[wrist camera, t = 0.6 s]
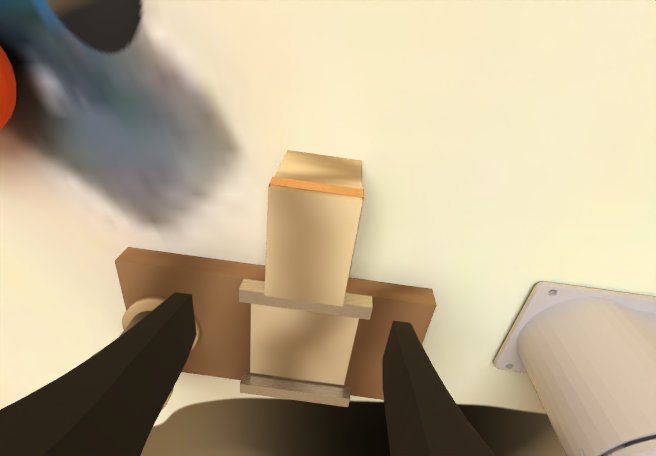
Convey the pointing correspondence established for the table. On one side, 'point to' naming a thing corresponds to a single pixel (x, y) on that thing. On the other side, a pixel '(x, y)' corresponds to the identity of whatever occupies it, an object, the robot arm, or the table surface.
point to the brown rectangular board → (279, 326)
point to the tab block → (312, 227)
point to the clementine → (6, 89)
